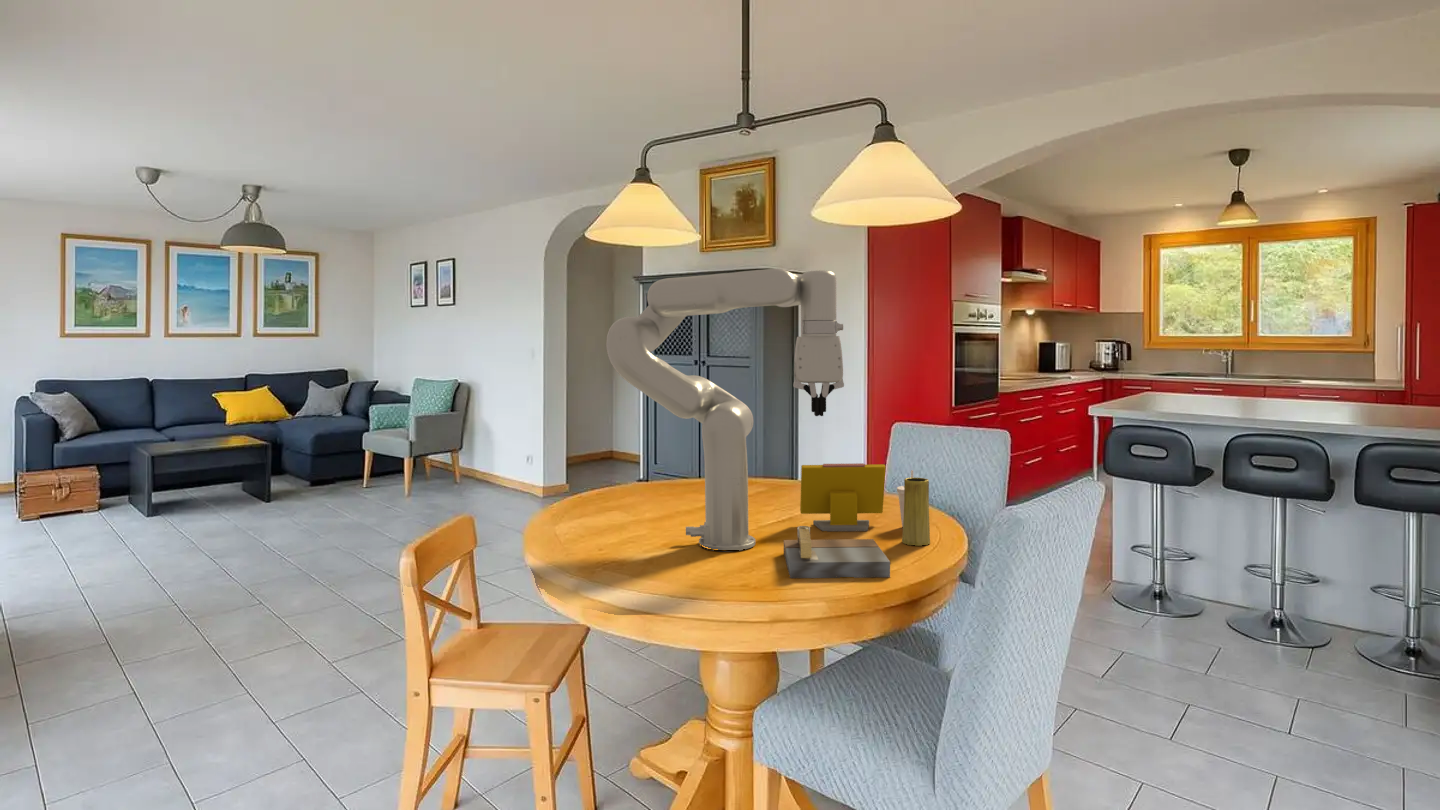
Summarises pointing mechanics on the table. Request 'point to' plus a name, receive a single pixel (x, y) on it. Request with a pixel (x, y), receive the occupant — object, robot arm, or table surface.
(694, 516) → the table surface
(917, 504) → the vase
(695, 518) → the table surface
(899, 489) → the smoothie
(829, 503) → the toy computer monitor
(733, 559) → the table surface
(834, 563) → the door mockup
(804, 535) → the latch bar
